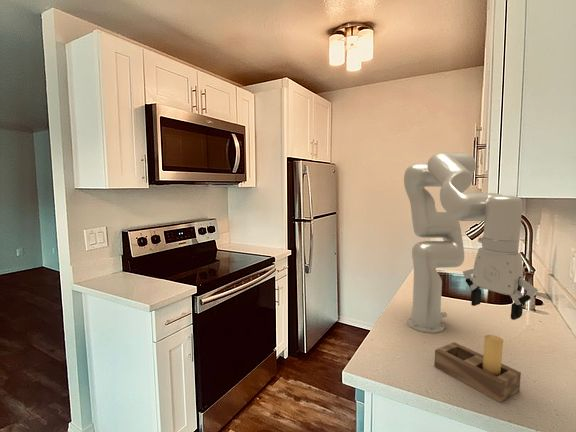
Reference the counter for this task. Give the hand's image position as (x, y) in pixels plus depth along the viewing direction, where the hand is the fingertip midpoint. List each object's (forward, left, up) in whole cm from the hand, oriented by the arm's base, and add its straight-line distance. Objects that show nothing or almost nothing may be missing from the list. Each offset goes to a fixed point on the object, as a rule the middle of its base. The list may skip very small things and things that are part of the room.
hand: (494, 311), depth 84 cm
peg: (0, 0, -19) cm, 19 cm away
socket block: (0, -4, -20) cm, 21 cm away
